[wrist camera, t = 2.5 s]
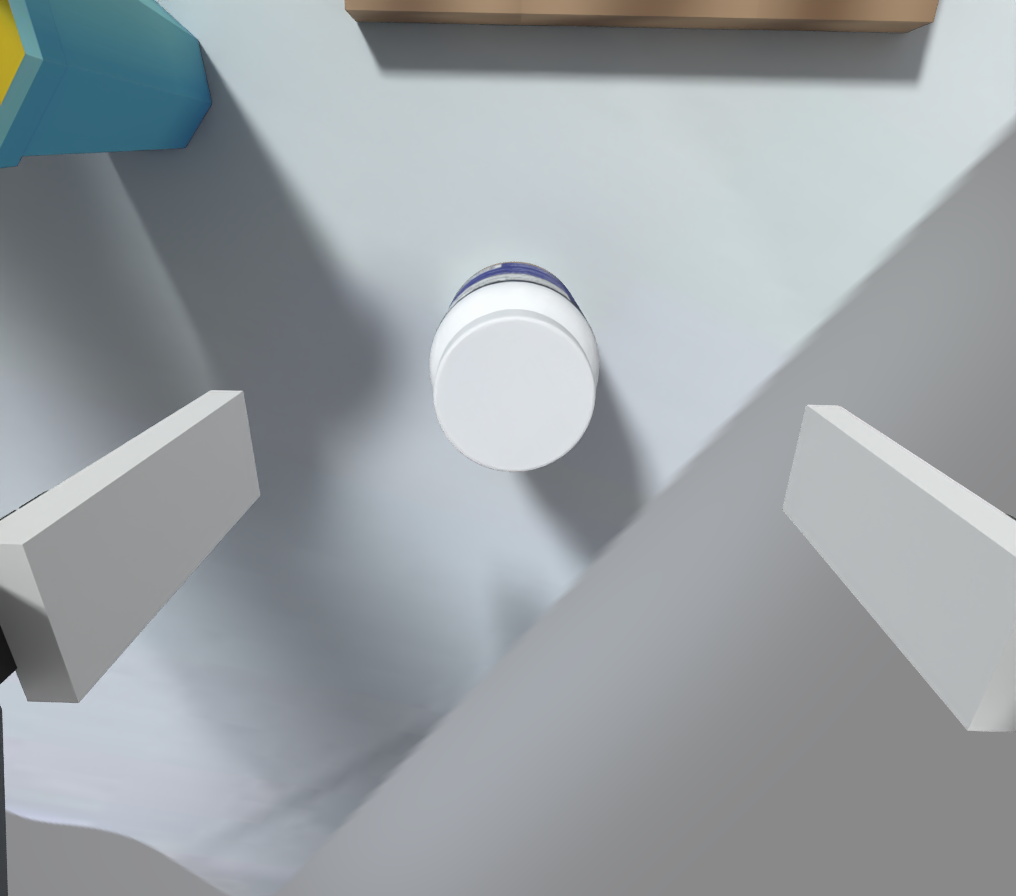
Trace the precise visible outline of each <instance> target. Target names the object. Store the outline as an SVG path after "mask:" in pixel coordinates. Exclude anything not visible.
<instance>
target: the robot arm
mask: <svg viewBox="0 0 1016 896" xmlns="http://www.w3.org/2000/svg"><path fill="white" fill-rule="evenodd" d="M259 497H260V489H259V483H258V476H257V470H256V464H255V458H254V452H253V446H252V440H251V434H250V428H249V422H248V416H247V409H246V403H245V397H244V391H230V390H210V391H209V392H207V393H205V394H204V395H202V396H201V397H199V398H197V399H196V400H194V401H192V402H191V403H189V404H188V405H186V406H184V407H183V408H181V409H180V410H178V411H176V412H175V413H173V414H172V415H170V416H168V417H167V418H165V419H163V420H162V421H160V422H159V423H157V424H155V425H154V426H152V427H151V428H149V429H147V430H146V431H144V432H142V433H141V434H139V435H138V436H136V437H134V438H133V439H131V440H130V441H128V442H126V443H125V444H123V445H121V446H120V447H118V448H117V449H115V450H113V451H112V452H110V453H109V454H107V455H105V456H104V457H102V458H101V459H99V460H97V461H96V462H94V463H92V464H91V465H89V466H88V467H86V468H84V469H83V470H81V471H80V472H78V473H76V474H75V475H73V476H71V477H70V478H68V479H67V480H65V481H63V482H62V483H60V484H59V485H57V486H55V487H54V488H52V489H51V490H48V491H46V492H43V493H42V494H40V495H38V496H37V497H35V498H34V499H32V500H30V501H29V502H27V503H26V504H24V505H22V506H21V507H19V509H18V510H14V511H13V512H11V513H9V514H8V515H6V516H4V517H3V518H1V519H0V684H1V683H2V682H3V681H4V680H5V679H6V678H7V677H8V676H10V675H11V674H12V673H13V672H14V671H16V673H17V676H18V678H19V681H20V683H21V686H22V688H23V691H24V693H25V696H26V698H27V701H32V702H65V703H79V702H80V701H81V700H82V699H83V698H84V696H85V695H86V694H87V693H88V692H89V691H90V690H91V688H92V687H93V686H94V685H95V684H96V683H97V682H98V680H99V679H100V678H101V677H102V676H103V675H104V674H105V672H106V671H107V670H108V669H109V668H110V667H111V666H112V664H113V663H114V662H115V661H116V660H117V659H118V658H119V656H120V655H121V654H122V653H123V652H124V651H125V650H126V648H127V647H128V646H129V645H130V644H131V643H132V642H133V640H134V639H135V638H136V637H137V636H138V635H139V634H140V632H141V631H142V630H143V629H144V628H145V627H146V626H147V624H148V623H149V622H150V621H151V620H152V619H153V618H154V616H155V615H156V614H157V613H158V612H159V611H160V610H161V608H162V607H163V606H164V605H165V604H166V603H167V602H168V600H169V599H170V598H171V597H172V596H173V595H174V594H175V592H176V591H177V590H178V589H179V588H180V587H181V586H182V584H183V583H184V582H185V581H186V580H187V579H188V578H189V576H190V575H191V574H192V573H193V572H194V571H195V570H196V568H197V567H198V566H199V565H200V564H201V563H202V562H203V560H204V559H205V558H206V557H207V556H208V555H209V554H210V553H211V551H212V550H213V549H214V548H215V547H216V546H217V545H218V543H219V542H220V541H221V540H222V539H223V538H224V537H225V535H226V534H227V533H228V532H229V531H230V530H231V529H232V527H233V526H234V525H235V524H236V523H237V522H238V521H239V519H240V518H241V517H242V516H243V515H244V514H245V513H246V511H247V510H248V509H249V508H250V507H251V506H252V505H253V503H254V502H255V501H256V500H257V499H258V498H259ZM782 510H783V511H784V512H785V513H786V514H787V516H788V517H789V518H790V519H791V520H792V522H793V523H794V524H795V525H796V526H797V528H798V529H799V530H800V531H801V532H802V533H803V535H804V536H805V537H806V538H807V539H808V540H809V542H810V543H811V544H812V545H813V547H814V548H815V549H816V550H817V551H818V553H819V554H820V555H821V556H822V557H823V559H824V560H825V561H826V562H827V563H828V564H829V566H830V567H831V568H832V569H833V570H834V572H835V573H836V574H837V575H838V576H839V577H840V579H841V580H842V581H843V582H844V584H845V585H846V586H847V587H848V588H849V590H850V591H851V592H852V593H853V594H854V595H855V597H856V598H857V599H858V600H859V601H860V603H861V604H862V605H863V606H864V607H865V609H866V610H867V611H868V612H869V613H870V615H871V616H872V617H873V618H874V619H875V620H876V622H877V623H878V624H879V625H880V627H881V628H882V629H883V630H884V631H885V632H886V633H887V635H888V636H889V637H890V638H891V640H892V641H893V642H894V643H895V644H896V645H897V647H898V648H899V649H900V650H901V652H902V653H903V654H904V655H905V656H906V658H907V659H908V660H909V661H910V662H911V664H912V665H913V666H914V667H915V668H916V669H917V671H918V672H919V673H920V674H921V675H922V677H923V678H924V679H925V680H926V681H927V683H928V684H929V685H930V686H931V687H932V689H933V690H934V691H935V692H936V693H937V695H938V696H939V697H940V698H941V699H942V701H943V702H944V703H945V704H946V705H947V706H948V708H949V709H950V710H951V711H952V712H953V714H954V715H955V716H956V717H957V718H958V720H959V721H960V722H961V723H962V724H963V726H964V727H965V728H966V729H967V730H968V731H997V732H1016V519H1015V518H1014V517H1012V516H1010V515H1008V514H1005V513H1003V512H1002V511H1000V510H999V509H997V508H995V507H994V506H992V505H991V504H989V503H988V502H986V501H985V500H983V499H981V498H980V497H979V496H977V495H976V494H974V493H972V492H971V491H969V490H968V489H966V488H965V487H963V486H962V485H960V484H958V483H957V482H955V481H954V480H953V479H951V478H950V477H948V476H946V475H945V474H943V473H942V472H940V471H939V470H937V469H936V468H934V467H933V466H931V465H929V464H928V463H927V462H925V461H923V460H922V459H920V458H919V457H917V456H916V455H914V454H912V453H911V452H910V451H908V450H907V449H905V448H904V447H902V446H900V445H899V444H897V443H896V442H894V441H893V440H891V439H890V438H888V437H887V436H885V435H883V434H882V433H881V432H879V431H877V430H876V429H874V428H873V427H871V426H870V425H868V424H867V423H865V422H864V421H862V420H860V419H859V418H857V417H856V416H854V415H853V414H851V413H850V412H848V411H847V410H845V409H844V408H842V407H841V406H829V405H806V409H805V413H804V418H803V422H802V426H801V431H800V435H799V439H798V444H797V448H796V452H795V457H794V461H793V466H792V469H791V474H790V478H789V483H788V487H787V491H786V496H785V500H784V505H783V509H782ZM0 896H8V885H7V854H6V821H5V789H4V757H3V725H2V708H1V706H0Z"/></svg>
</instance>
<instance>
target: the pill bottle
mask: <svg viewBox="0 0 1016 896" xmlns="http://www.w3.org/2000/svg"><path fill="white" fill-rule="evenodd" d="M599 365H600V364H599V353H598V347H597V343H596V340H595V336H594V334H593V331H592V329H591V327H590V325H589V324H588V322H587V320H586V318H585V317H584V315H583V313H582V312H581V310H580V308H579V306H578V305H577V303H576V302H575V300H574V298H573V297H572V295H571V293H570V292H569V291H568V289H567V288H566V287H565V285H564V284H563V283H562V282H561V281H560V280H559V279H558V278H557V277H555V276H554V275H553V274H551V273H550V272H548V271H547V270H545V269H543V268H541V267H539V266H536V265H533V264H530V263H525V262H503V263H498V264H494V265H491V266H488V267H486V268H484V269H482V270H480V271H479V272H477V273H476V274H474V275H473V276H472V277H471V278H470V279H469V280H467V281H466V282H465V284H464V285H463V286H462V287H461V288H460V289H459V291H458V292H457V294H456V296H455V297H454V299H453V301H452V303H451V305H450V307H449V309H448V311H447V312H446V314H445V316H444V318H443V320H442V321H441V323H440V325H439V327H438V329H437V331H436V334H435V337H434V340H433V344H432V348H431V353H430V363H429V366H430V380H431V384H432V388H433V400H434V406H435V411H436V415H437V418H438V421H439V423H440V426H441V428H442V430H443V432H444V433H445V435H446V436H447V438H448V439H449V441H450V442H451V443H452V444H453V445H454V446H455V448H456V449H457V450H459V451H460V452H461V453H462V454H463V455H465V456H466V457H467V458H469V459H470V460H472V461H474V462H476V463H478V464H480V465H482V466H485V467H488V468H491V469H495V470H498V471H508V472H521V471H529V470H534V469H538V468H541V467H543V466H546V465H548V464H550V463H552V462H554V461H556V460H557V459H559V458H561V457H562V456H564V455H565V454H566V453H568V452H569V451H570V450H571V449H572V448H573V447H574V446H575V445H576V444H577V442H578V441H579V440H580V439H581V437H582V436H583V434H584V433H585V431H586V429H587V427H588V425H589V423H590V421H591V418H592V414H593V411H594V406H595V397H596V388H597V383H598V378H599Z"/></svg>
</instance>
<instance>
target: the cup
mask: <svg viewBox="0 0 1016 896" xmlns="http://www.w3.org/2000/svg"><path fill="white" fill-rule="evenodd" d="M211 104H212V101H211V97H210V92H209V88H208V83H207V78H206V74H205V69H204V65H203V60H202V56H201V51H200V46H199V42H198V40H197V39H196V38H195V37H194V36H193V35H192V34H191V33H190V32H189V31H188V30H186V29H185V28H184V27H183V26H182V25H181V24H180V23H179V22H178V21H177V20H175V19H174V18H173V17H172V16H171V15H170V14H169V13H168V12H167V11H166V10H164V9H163V8H162V7H161V6H160V5H159V4H158V3H157V2H156V1H155V0H0V168H5V167H13V166H17V165H18V163H19V162H20V160H21V158H22V156H38V155H58V154H79V153H100V152H120V151H140V150H157V149H174V148H185V147H186V146H187V144H188V142H189V141H190V139H191V137H192V136H193V134H194V132H195V131H196V129H197V127H198V126H199V124H200V123H201V121H202V119H203V118H204V116H205V114H206V113H207V111H208V109H209V108H210V106H211Z"/></svg>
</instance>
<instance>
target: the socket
mask: <svg viewBox="0 0 1016 896" xmlns="http://www.w3.org/2000/svg"><path fill="white" fill-rule="evenodd" d="M938 2H939V0H345V10H346V11H347V12H348V13H349V14H350V15H351V17H352V18H353V19H354V20H355V21H356V22H404V23H453V24H502V25H551V26H600V27H649V28H698V29H747V30H796V31H845V32H894V33H907V32H909V31H912V30H914V29H917V28H919V27H922V26H924V25H927V24H929V23H932V22H933V21H934V17H935V13H936V9H937V6H938Z"/></svg>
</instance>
